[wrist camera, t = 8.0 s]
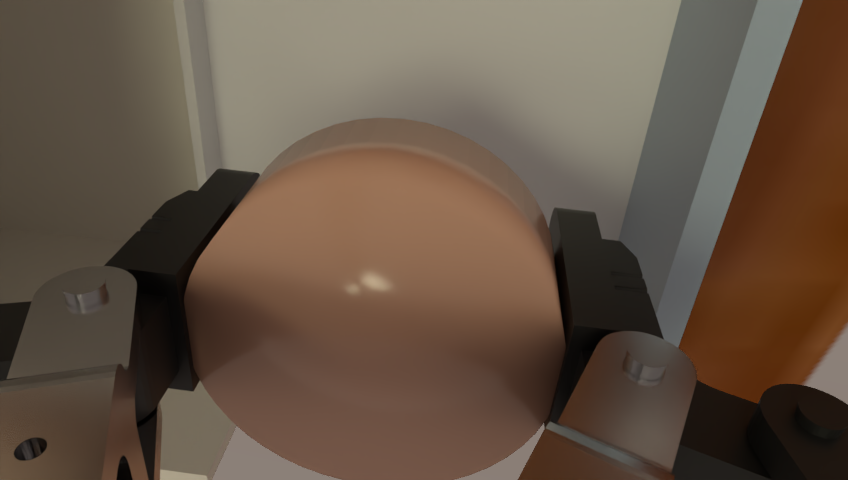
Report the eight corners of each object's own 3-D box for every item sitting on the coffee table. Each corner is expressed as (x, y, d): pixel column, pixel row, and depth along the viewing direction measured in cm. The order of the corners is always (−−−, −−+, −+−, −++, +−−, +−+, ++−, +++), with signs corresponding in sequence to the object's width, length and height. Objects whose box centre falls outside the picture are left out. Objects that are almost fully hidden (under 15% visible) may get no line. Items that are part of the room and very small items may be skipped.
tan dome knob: (226, 99, 10) (157, 161, 8) (584, 139, 10) (606, 213, 8) (250, 365, 13) (203, 461, 11) (526, 402, 13) (531, 507, 11)
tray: (178, -219, 16) (38, -247, 11) (755, -179, 15) (870, -189, 10) (231, 252, 24) (160, 356, 19) (621, 296, 23) (653, 417, 18)
